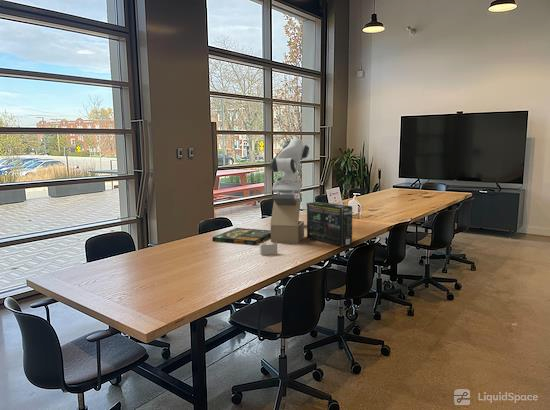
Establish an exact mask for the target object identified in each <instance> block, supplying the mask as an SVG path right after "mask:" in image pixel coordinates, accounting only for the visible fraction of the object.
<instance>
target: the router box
mask: <svg viewBox="0 0 550 410" xmlns="http://www.w3.org/2000/svg"><path fill="white" fill-rule="evenodd" d="M306 239H307V240H313V241H316V242H320V243H325V244H328V245H334V246H339V247H346V246H347V247H348V246H349V245H353V206H352V205H344V204H337V203H330V202H329V203H328V202H321V201H314V202H306Z"/></svg>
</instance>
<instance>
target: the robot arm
mask: <svg viewBox="0 0 550 410" xmlns="http://www.w3.org/2000/svg"><path fill="white" fill-rule="evenodd" d="M281 148H282V149H280V151H279V152H278V153H277V154H276V155H275V157H273V158H272V159H271V160H270V161H269V169H270V170H271V171H272V173H283V175H282V177H278V178H276V179H275V182H274V183H273V186H272V188H271V189H272V192H273V193H274V194H288V195H293V196H294V195H296V194H300V193H301V191H302V190H301V189H302V185H303V183H302V182H301V181H296V179H297V176H298V172H299V168H300V163H301V160H303V159H306V158H308V156H309V155H310V152H311V151H310V147H309V146H308V145H307V144H303V140H302V139H301V138H299V137H294V138H292V139H291V140H286V141H284V143H283V144H282V147H281Z"/></svg>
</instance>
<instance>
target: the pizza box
mask: <svg viewBox="0 0 550 410" xmlns="http://www.w3.org/2000/svg"><path fill="white" fill-rule="evenodd" d="M211 238H212V242H215V243H216V242H217V243H227V244H236V245H237V244H238V245H247V246H256V245H258V243H259V244H260V243H263V242H264V241H267V240H268V239H271V229H270V230H269V229H267V230H266V229H258V228H257V229H256V228H245V227H244V228H242V227H235V228H232V229H230V230H228V231H225V232H222V233H220V234H216V235H215V236H212V237H211Z"/></svg>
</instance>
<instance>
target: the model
mask: <svg viewBox="0 0 550 410" xmlns="http://www.w3.org/2000/svg"><path fill="white" fill-rule="evenodd" d="M259 254H260V255H261V256H265V255H275V254H276V255H277V254H278V242H273V244H271V243H270V244H267V243H266V242H260V243H259Z"/></svg>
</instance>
